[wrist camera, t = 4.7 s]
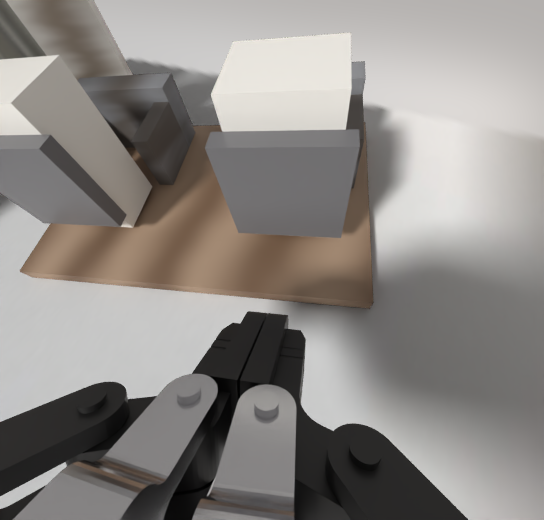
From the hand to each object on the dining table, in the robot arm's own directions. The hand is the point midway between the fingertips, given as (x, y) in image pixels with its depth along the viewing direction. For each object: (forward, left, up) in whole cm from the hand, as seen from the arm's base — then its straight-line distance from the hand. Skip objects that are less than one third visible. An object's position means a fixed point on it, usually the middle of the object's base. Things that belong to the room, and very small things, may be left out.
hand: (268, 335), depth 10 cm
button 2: (-14, +9, -4) cm, 17 cm away
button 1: (0, +9, -4) cm, 10 cm away
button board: (-7, +11, -6) cm, 15 cm away
